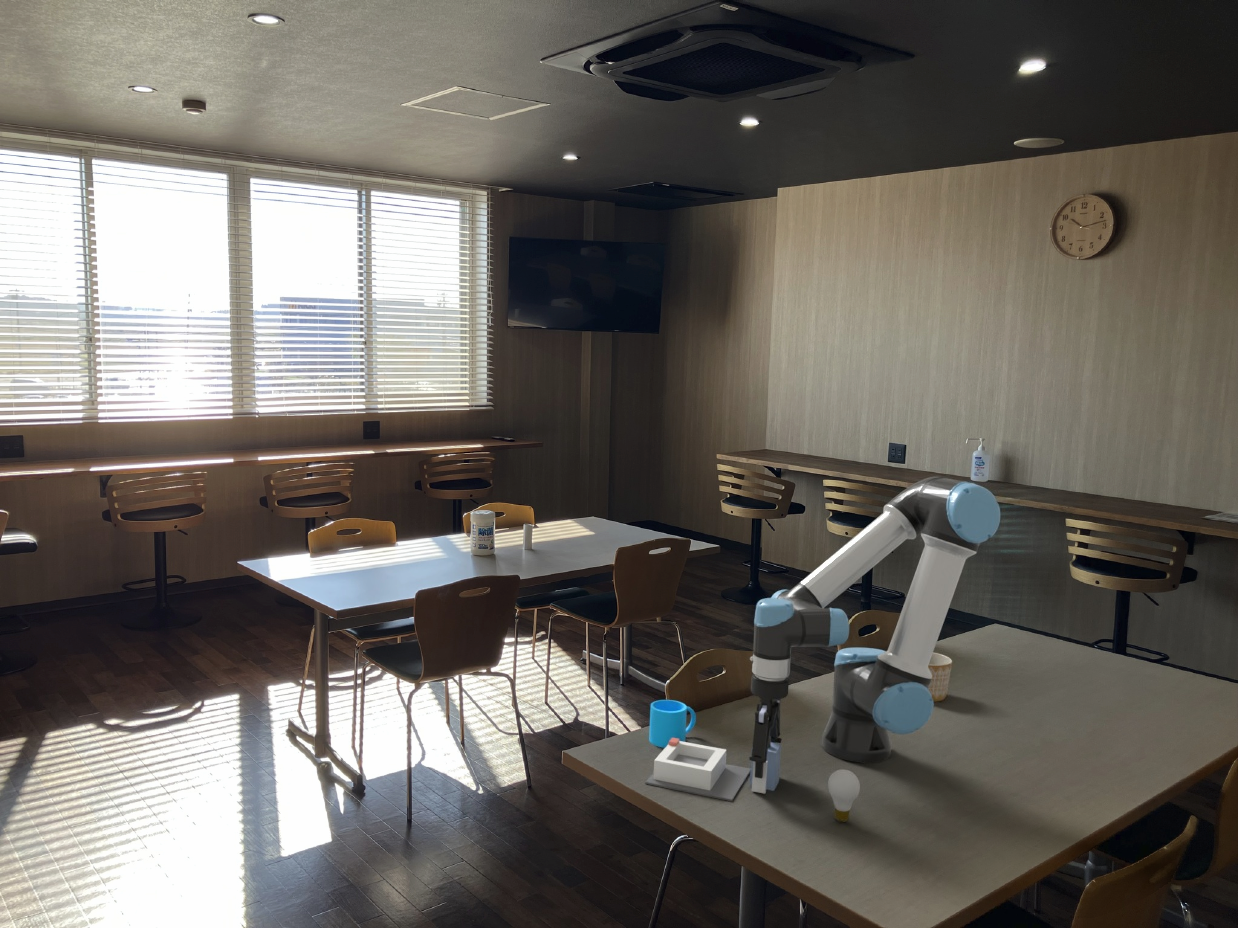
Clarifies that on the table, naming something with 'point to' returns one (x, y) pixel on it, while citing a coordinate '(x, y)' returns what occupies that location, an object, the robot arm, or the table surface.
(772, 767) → the plug
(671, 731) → the mug
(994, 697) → the table surface
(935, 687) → the planter
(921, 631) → the robot arm
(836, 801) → the light bulb
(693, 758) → the socket
